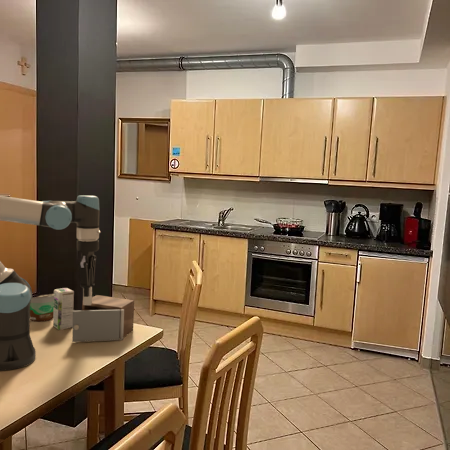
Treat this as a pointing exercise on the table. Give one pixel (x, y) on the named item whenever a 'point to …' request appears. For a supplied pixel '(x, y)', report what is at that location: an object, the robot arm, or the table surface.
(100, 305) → the cabinet
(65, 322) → the syrup box
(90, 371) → the table surface
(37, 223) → the robot arm
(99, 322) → the door
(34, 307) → the food container
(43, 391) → the table surface
